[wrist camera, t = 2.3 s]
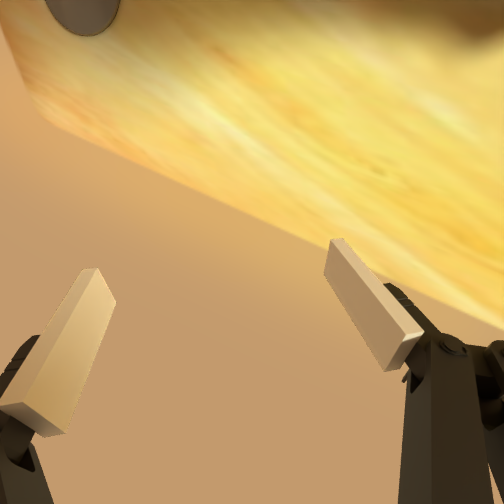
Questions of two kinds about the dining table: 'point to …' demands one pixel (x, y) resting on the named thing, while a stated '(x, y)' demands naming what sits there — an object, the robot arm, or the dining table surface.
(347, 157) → the dining table surface
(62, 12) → the grey smooth round part
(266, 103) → the dining table surface
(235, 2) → the dining table surface
